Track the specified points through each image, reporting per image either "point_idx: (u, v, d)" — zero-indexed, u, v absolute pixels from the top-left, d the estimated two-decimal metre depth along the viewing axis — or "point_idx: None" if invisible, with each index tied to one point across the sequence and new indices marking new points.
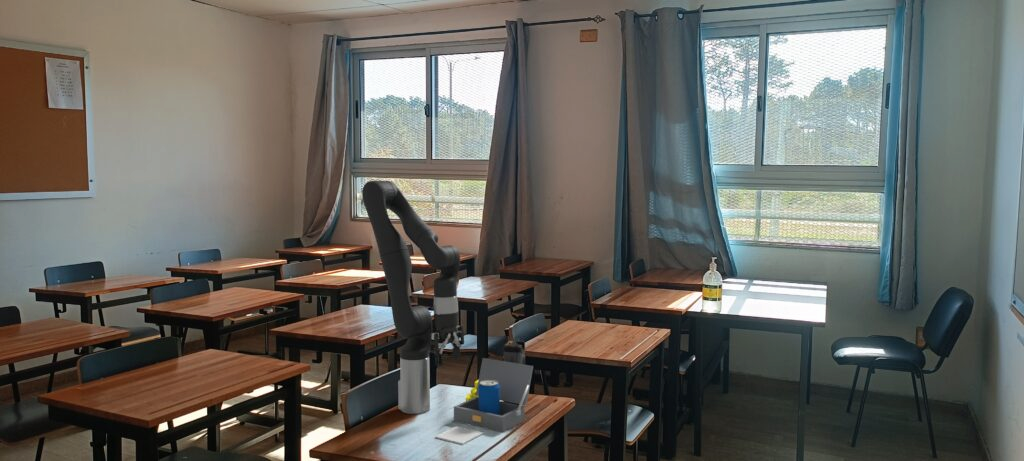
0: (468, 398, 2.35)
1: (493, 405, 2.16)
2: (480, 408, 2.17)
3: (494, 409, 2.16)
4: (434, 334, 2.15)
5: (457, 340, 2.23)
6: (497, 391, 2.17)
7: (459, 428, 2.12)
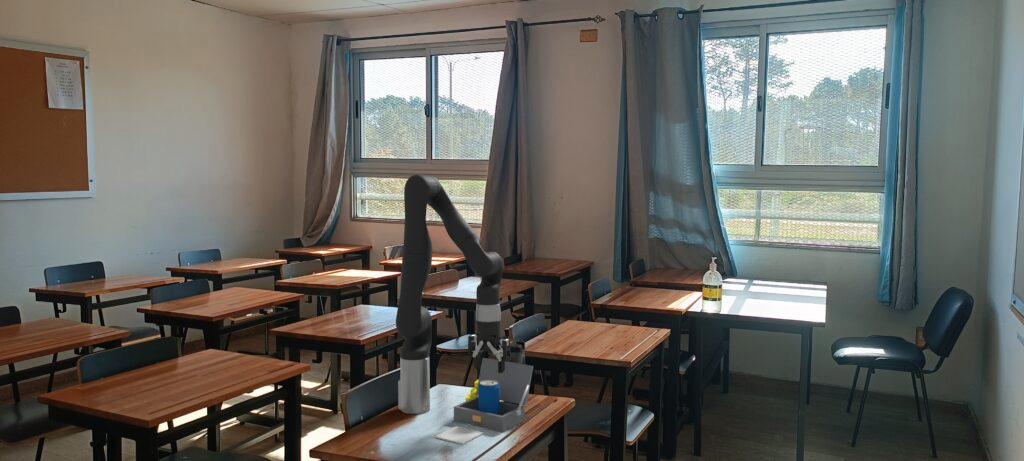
0: (468, 398, 2.35)
1: (493, 405, 2.16)
2: (480, 408, 2.17)
3: (494, 409, 2.16)
4: (508, 340, 2.14)
5: None
6: (497, 391, 2.17)
7: (459, 428, 2.12)
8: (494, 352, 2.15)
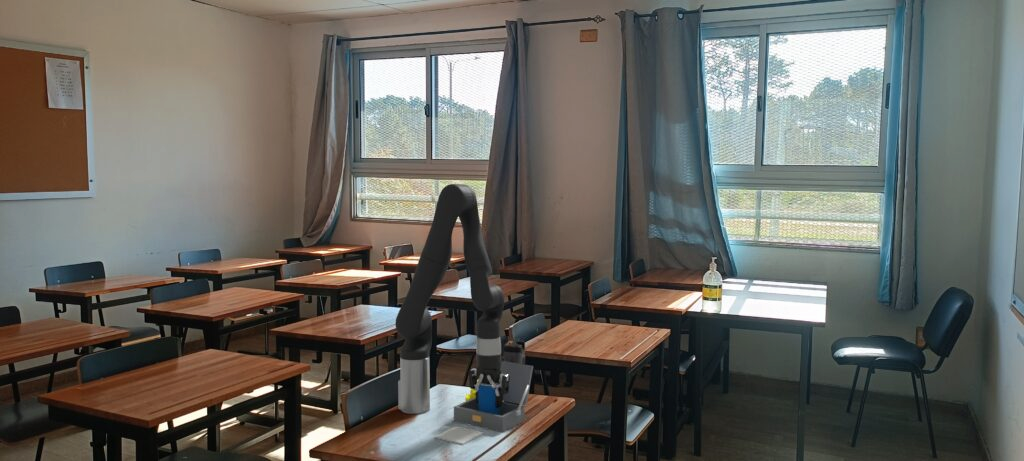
0: (468, 398, 2.35)
1: (493, 405, 2.16)
2: (480, 408, 2.17)
3: (494, 409, 2.16)
4: (508, 375, 2.15)
5: None
6: None
7: (459, 428, 2.12)
8: (493, 387, 2.16)
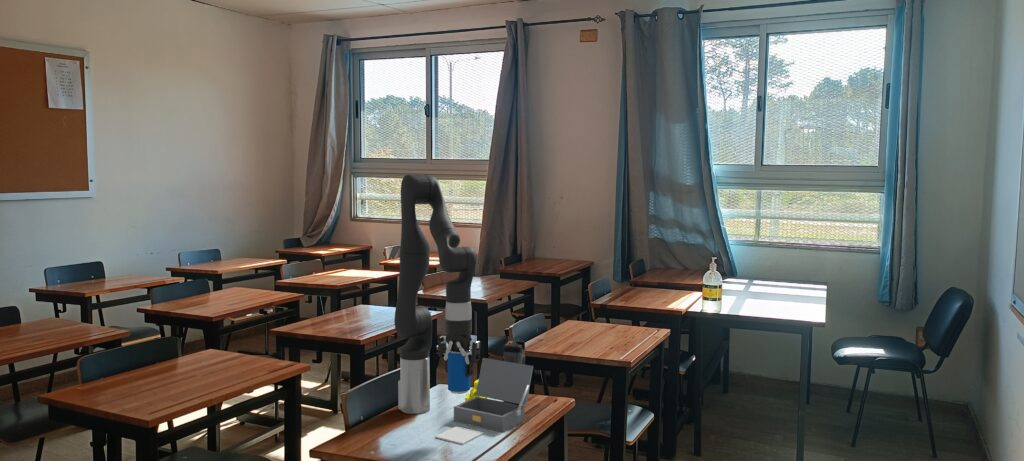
0: (467, 398, 2.35)
1: (462, 373, 2.03)
2: (449, 377, 2.04)
3: (464, 378, 2.03)
4: (478, 342, 2.02)
5: None
6: None
7: (459, 428, 2.12)
8: (462, 354, 2.02)
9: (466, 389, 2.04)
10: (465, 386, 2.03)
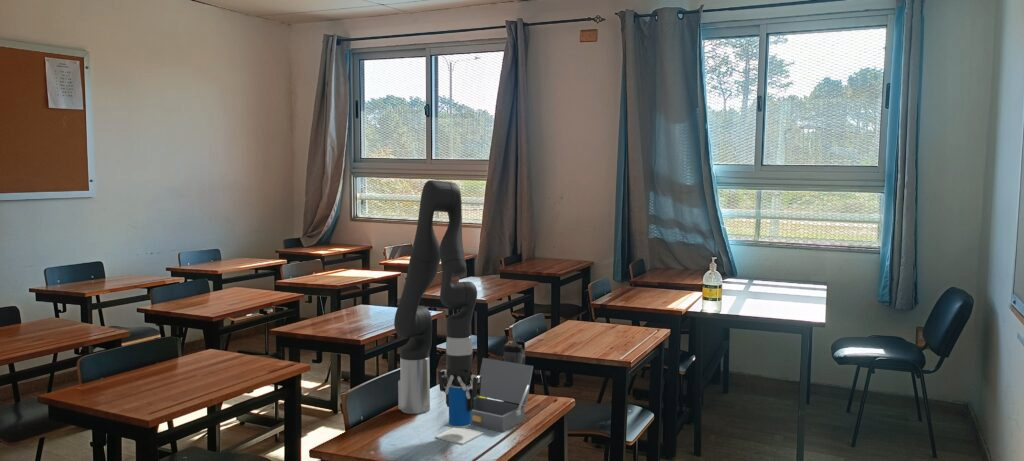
0: None
1: (463, 408, 2.03)
2: (450, 412, 2.05)
3: (465, 412, 2.04)
4: (479, 377, 2.03)
5: None
6: None
7: (459, 428, 2.12)
8: (463, 389, 2.03)
9: (467, 423, 2.04)
10: (466, 420, 2.04)
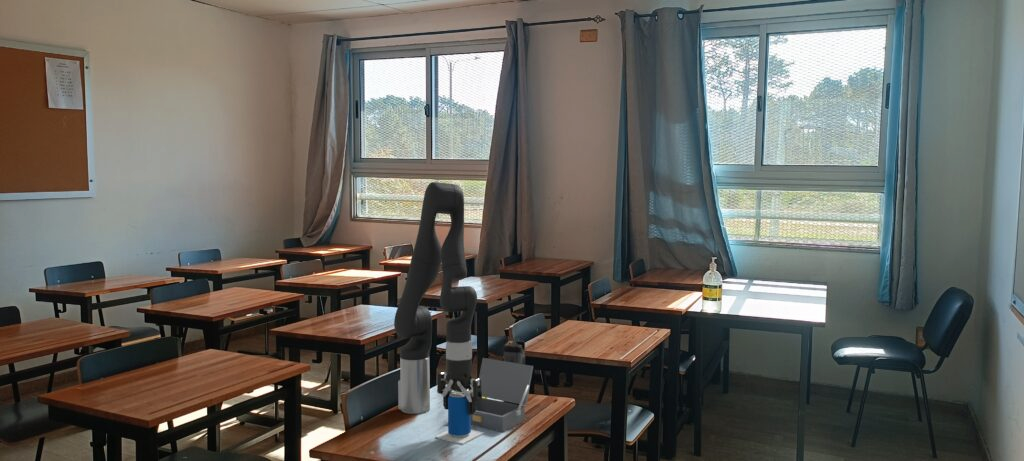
0: None
1: (463, 417, 2.04)
2: (449, 421, 2.05)
3: (464, 422, 2.04)
4: (479, 379, 2.02)
5: None
6: (467, 403, 2.04)
7: None
8: (464, 393, 2.03)
9: (466, 433, 2.05)
10: (465, 430, 2.04)
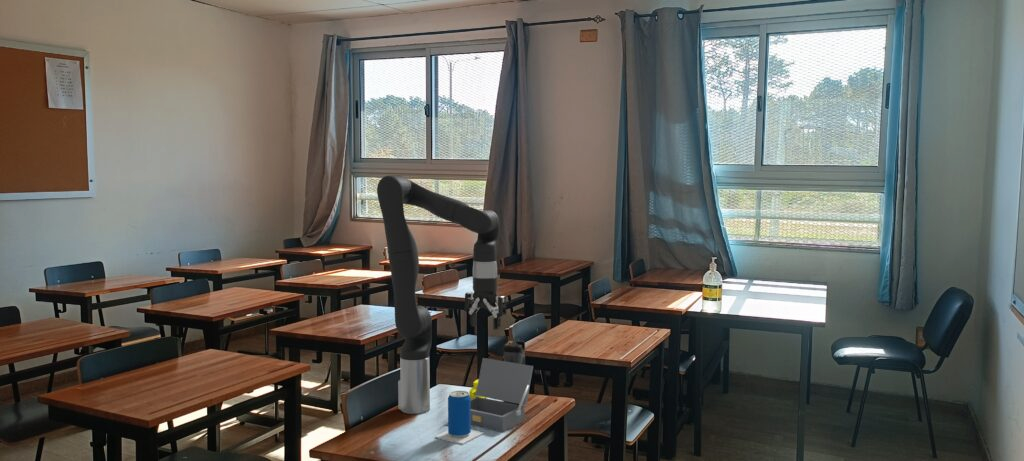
0: None
1: (463, 417, 2.04)
2: (449, 421, 2.05)
3: (464, 422, 2.04)
4: (503, 297, 2.17)
5: None
6: (467, 403, 2.04)
7: None
8: (490, 309, 2.17)
9: (466, 433, 2.05)
10: (465, 430, 2.04)
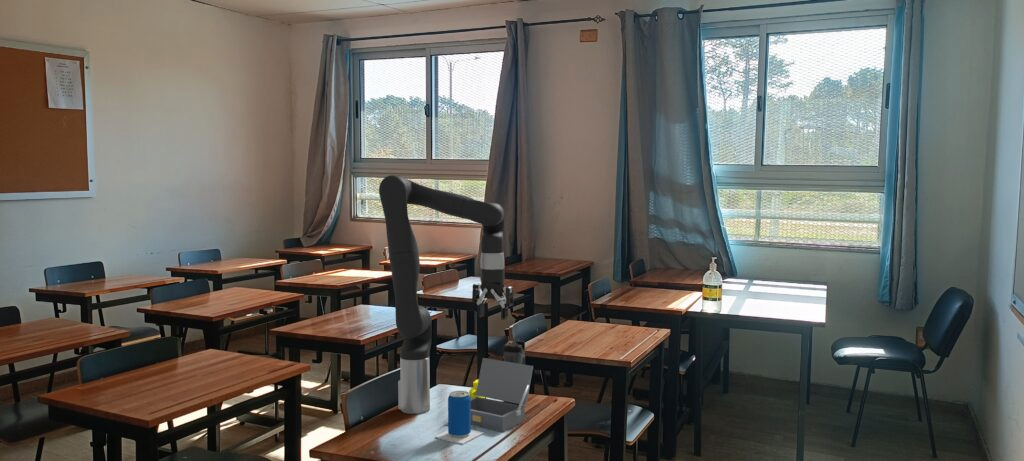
0: None
1: (463, 417, 2.04)
2: (449, 421, 2.05)
3: (464, 422, 2.04)
4: (511, 287, 2.22)
5: None
6: (467, 403, 2.04)
7: None
8: (497, 299, 2.23)
9: (466, 433, 2.05)
10: (465, 430, 2.04)
